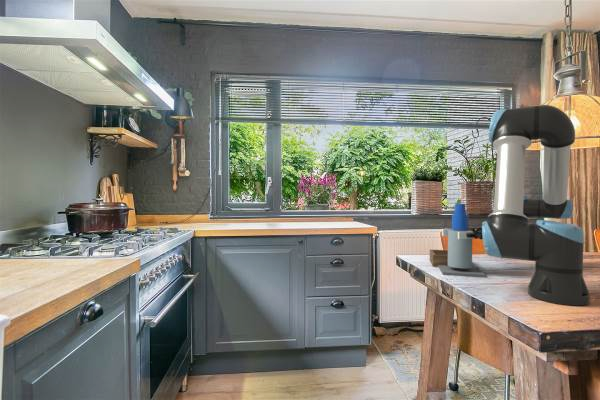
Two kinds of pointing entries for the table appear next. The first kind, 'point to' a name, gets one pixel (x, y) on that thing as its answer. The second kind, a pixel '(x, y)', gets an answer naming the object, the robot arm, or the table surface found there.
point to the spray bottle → (459, 240)
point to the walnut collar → (439, 257)
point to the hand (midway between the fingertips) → (450, 233)
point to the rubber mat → (461, 271)
